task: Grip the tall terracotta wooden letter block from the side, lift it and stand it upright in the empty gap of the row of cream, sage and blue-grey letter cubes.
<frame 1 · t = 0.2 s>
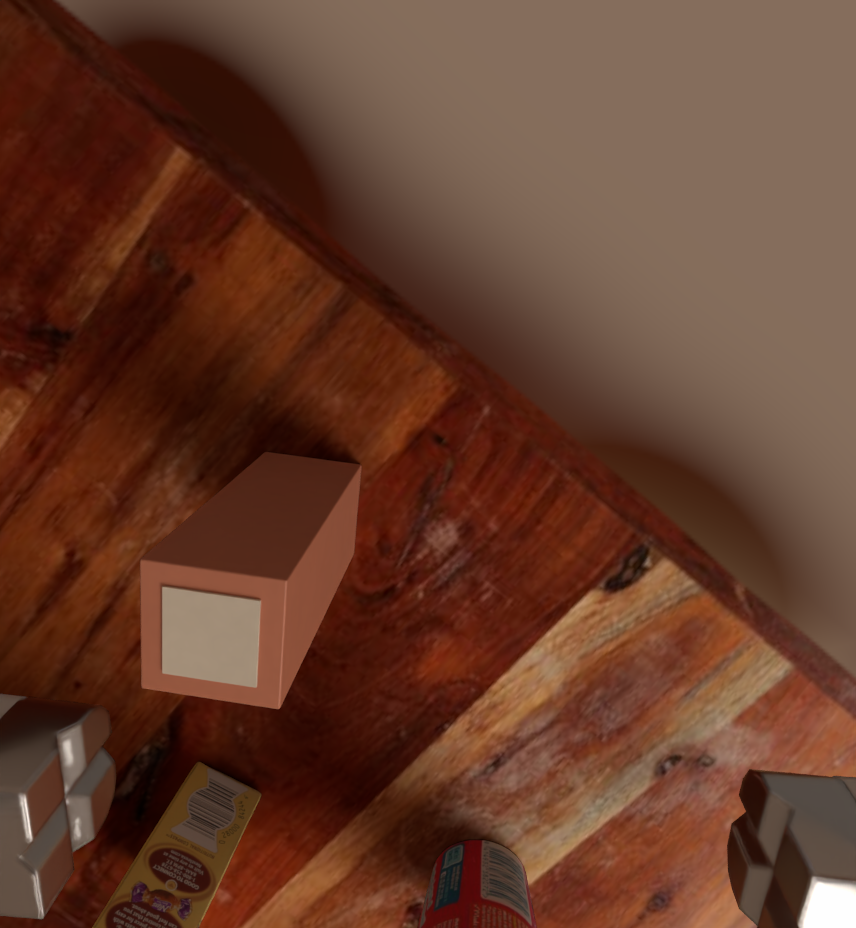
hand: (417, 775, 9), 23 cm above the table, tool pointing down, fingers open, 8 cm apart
candy box: (200, 827, 39), on the table
cup: (487, 874, 39), on the table
tall block: (310, 503, 33), on the table
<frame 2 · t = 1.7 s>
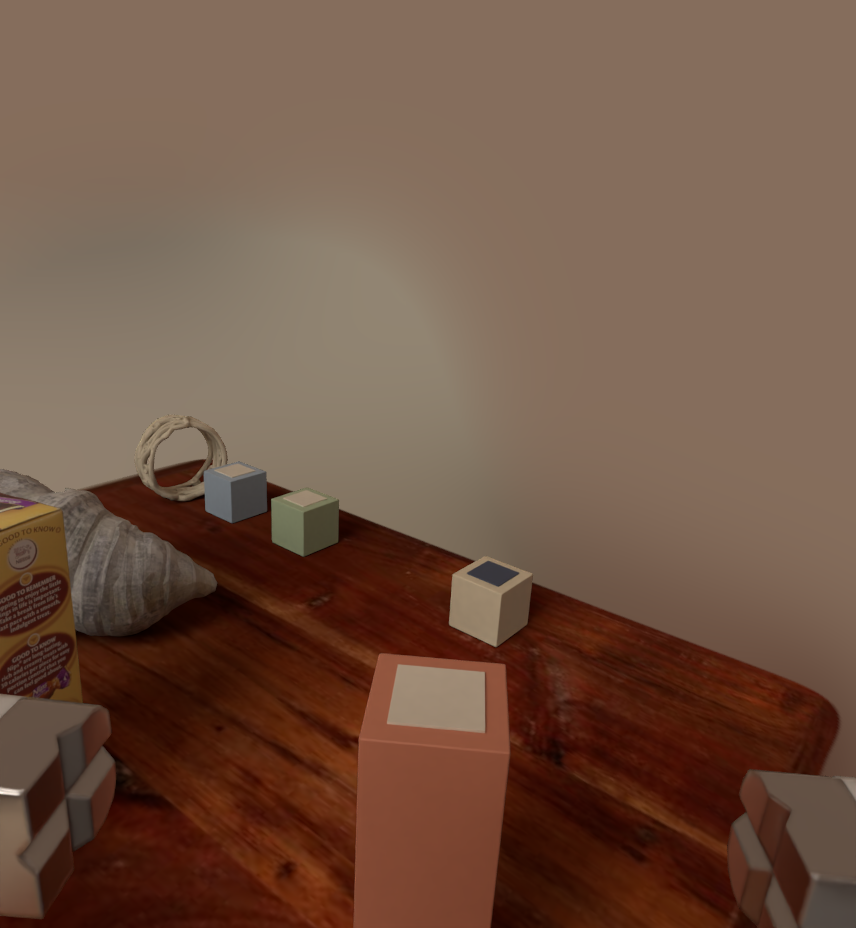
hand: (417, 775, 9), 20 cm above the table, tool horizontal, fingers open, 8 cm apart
bracelet: (183, 499, 69), on the table
block b: (305, 542, 61), on the table
seashell: (62, 619, 48), on the table
block c: (236, 511, 67), on the table
block a: (488, 624, 50), on the table
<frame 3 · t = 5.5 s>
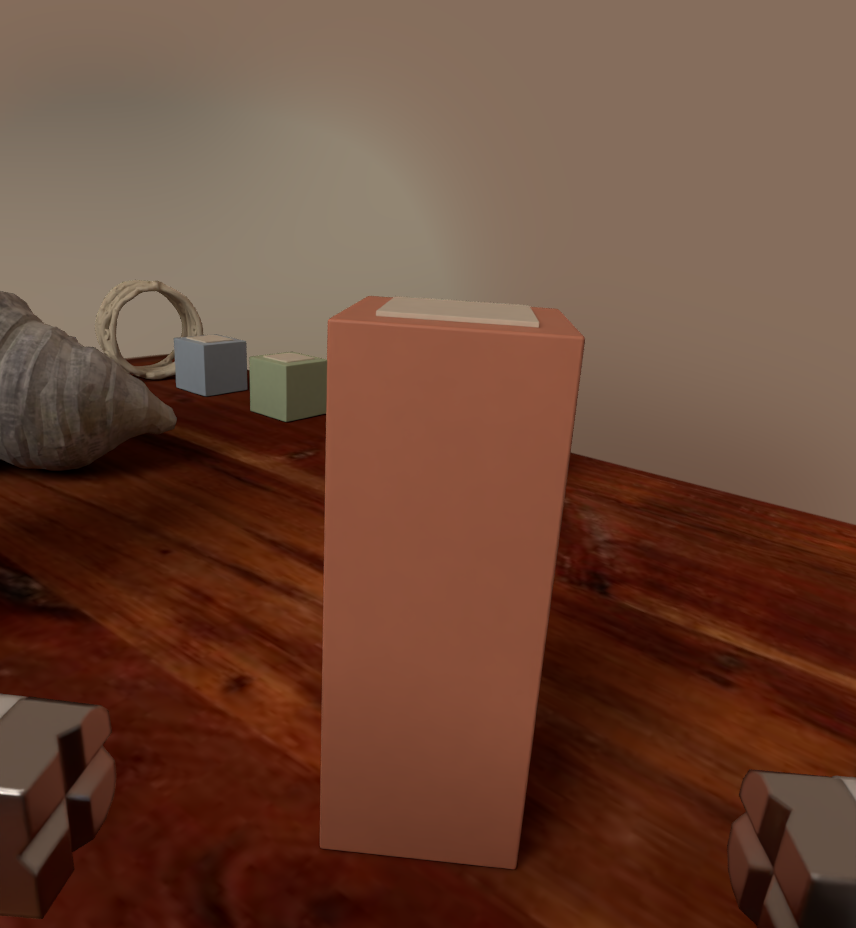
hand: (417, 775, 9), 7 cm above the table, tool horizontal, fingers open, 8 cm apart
bracelet: (152, 379, 61), on the table
block b: (289, 412, 52), on the table
tall block: (424, 786, 18), on the table
block c: (212, 388, 58), on the table
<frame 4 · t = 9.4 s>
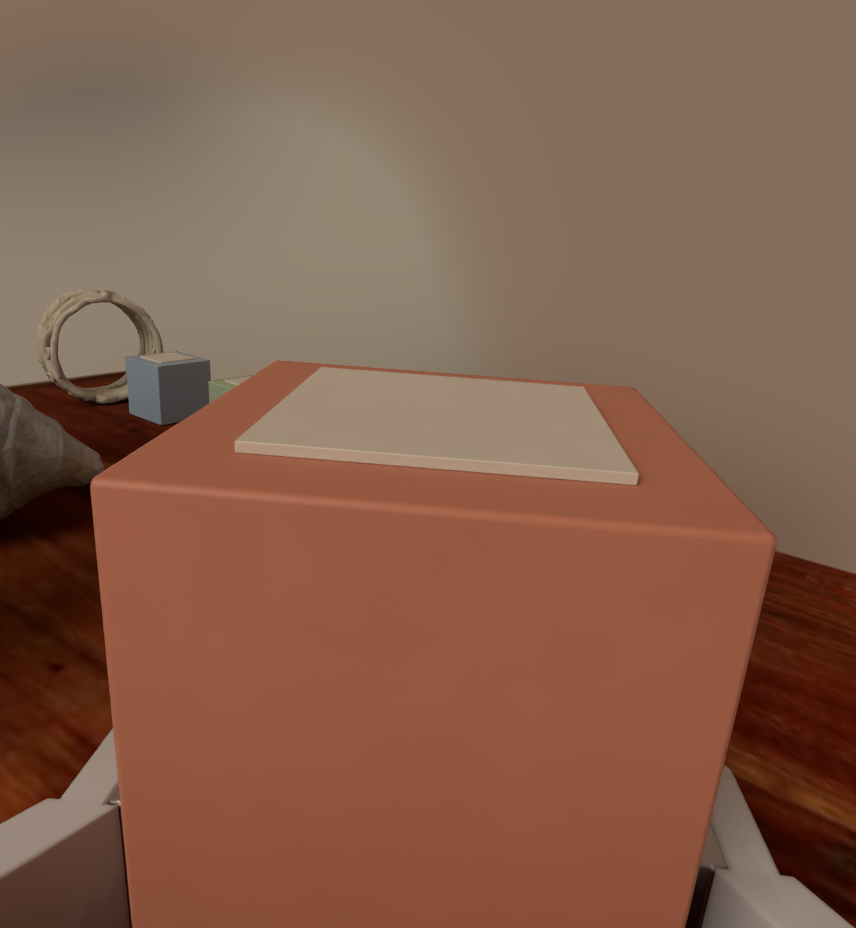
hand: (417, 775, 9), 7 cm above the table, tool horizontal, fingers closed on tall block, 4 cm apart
bracelet: (105, 403, 53), on the table
block b: (256, 445, 45), on the table
block c: (171, 414, 50), on the table
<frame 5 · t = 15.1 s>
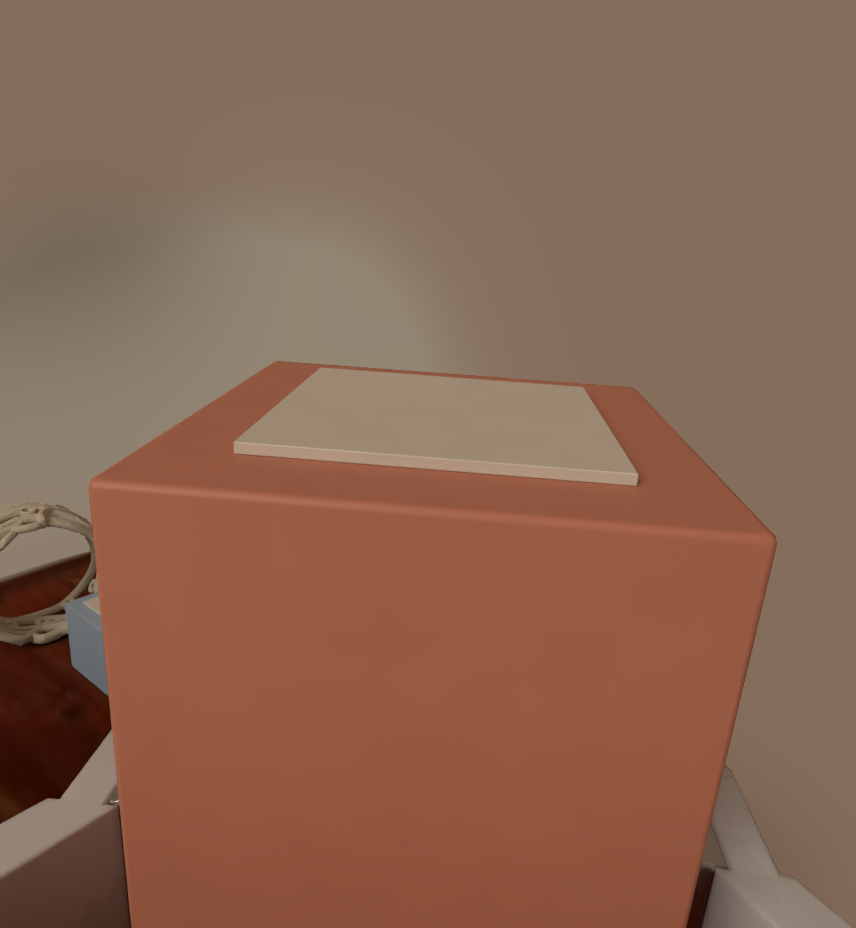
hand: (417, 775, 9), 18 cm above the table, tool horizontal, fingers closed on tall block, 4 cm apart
bracelet: (46, 636, 43), on the table
block c: (124, 665, 40), on the table
when the fingers open (7 cm above the table, at t = 21.0 s): tall block stays where it is, on the table.
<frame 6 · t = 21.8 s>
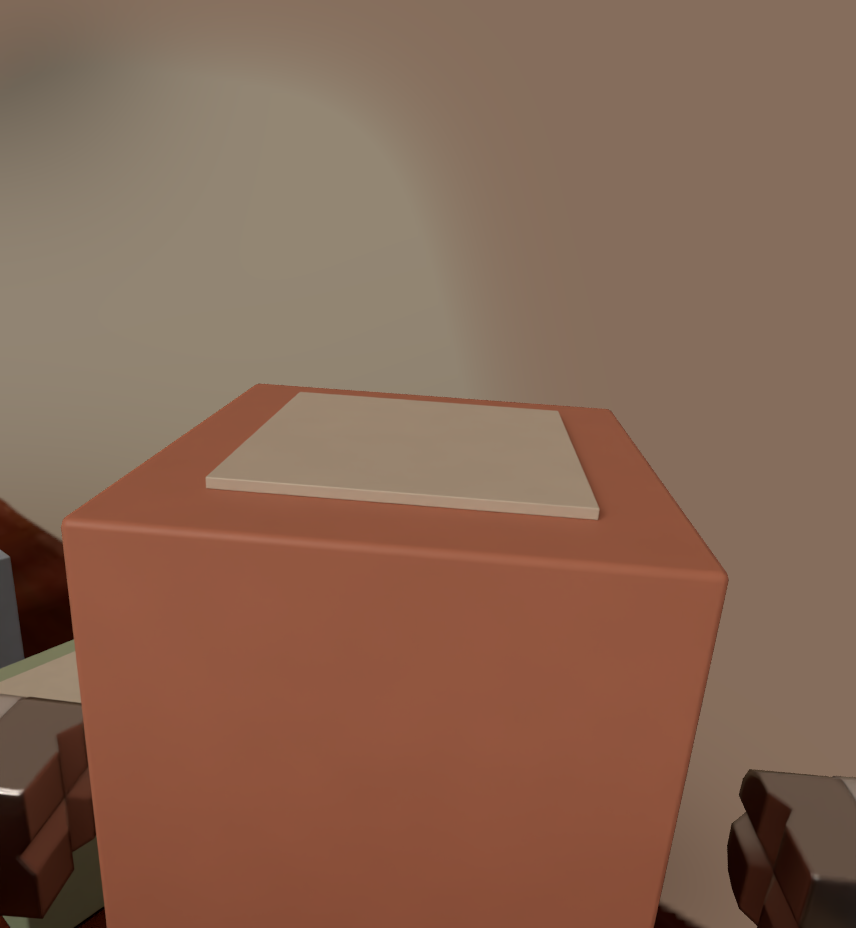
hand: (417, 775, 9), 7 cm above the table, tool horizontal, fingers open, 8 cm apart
block b: (82, 840, 17), on the table
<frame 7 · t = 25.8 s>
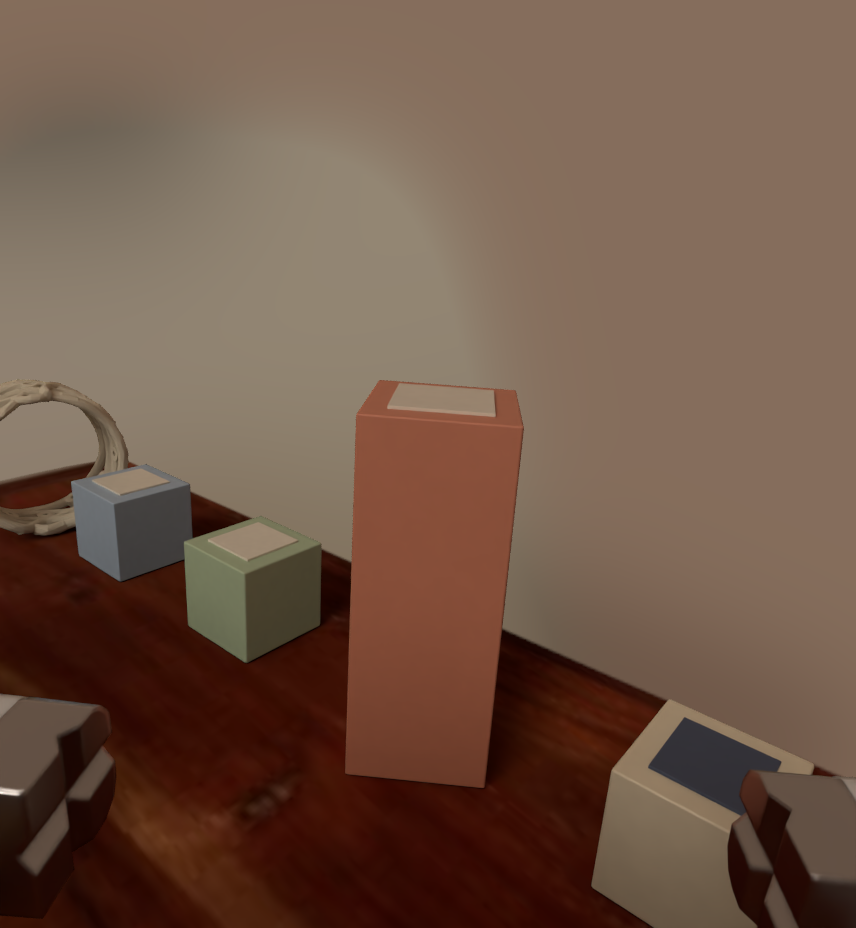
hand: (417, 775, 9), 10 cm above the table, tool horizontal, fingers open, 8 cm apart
bracelet: (49, 530, 39), on the table
block b: (254, 625, 31), on the table
tall block: (420, 734, 25), on the table
block c: (136, 555, 36), on the table
block a: (687, 882, 20), on the table
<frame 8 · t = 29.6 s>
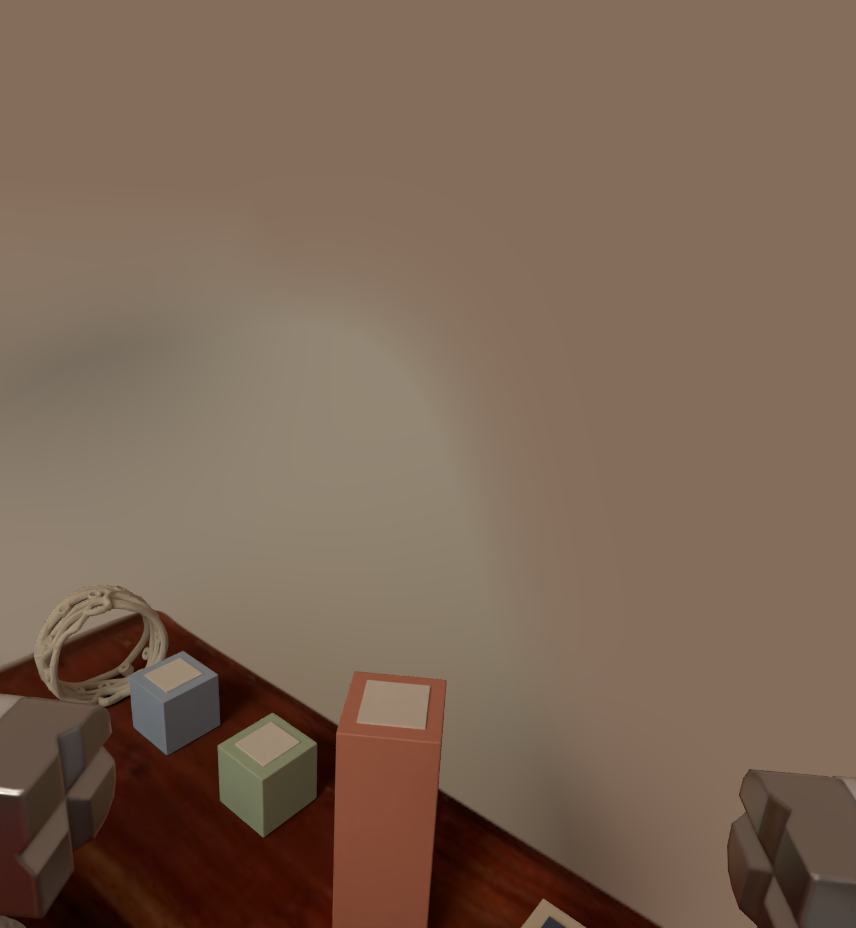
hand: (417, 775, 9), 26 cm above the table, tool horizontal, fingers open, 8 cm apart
bracelet: (107, 698, 50), on the table
block b: (268, 799, 42), on the table
tall block: (384, 902, 36), on the table
block c: (177, 726, 48), on the table
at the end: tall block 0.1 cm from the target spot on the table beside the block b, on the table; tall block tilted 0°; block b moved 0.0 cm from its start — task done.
